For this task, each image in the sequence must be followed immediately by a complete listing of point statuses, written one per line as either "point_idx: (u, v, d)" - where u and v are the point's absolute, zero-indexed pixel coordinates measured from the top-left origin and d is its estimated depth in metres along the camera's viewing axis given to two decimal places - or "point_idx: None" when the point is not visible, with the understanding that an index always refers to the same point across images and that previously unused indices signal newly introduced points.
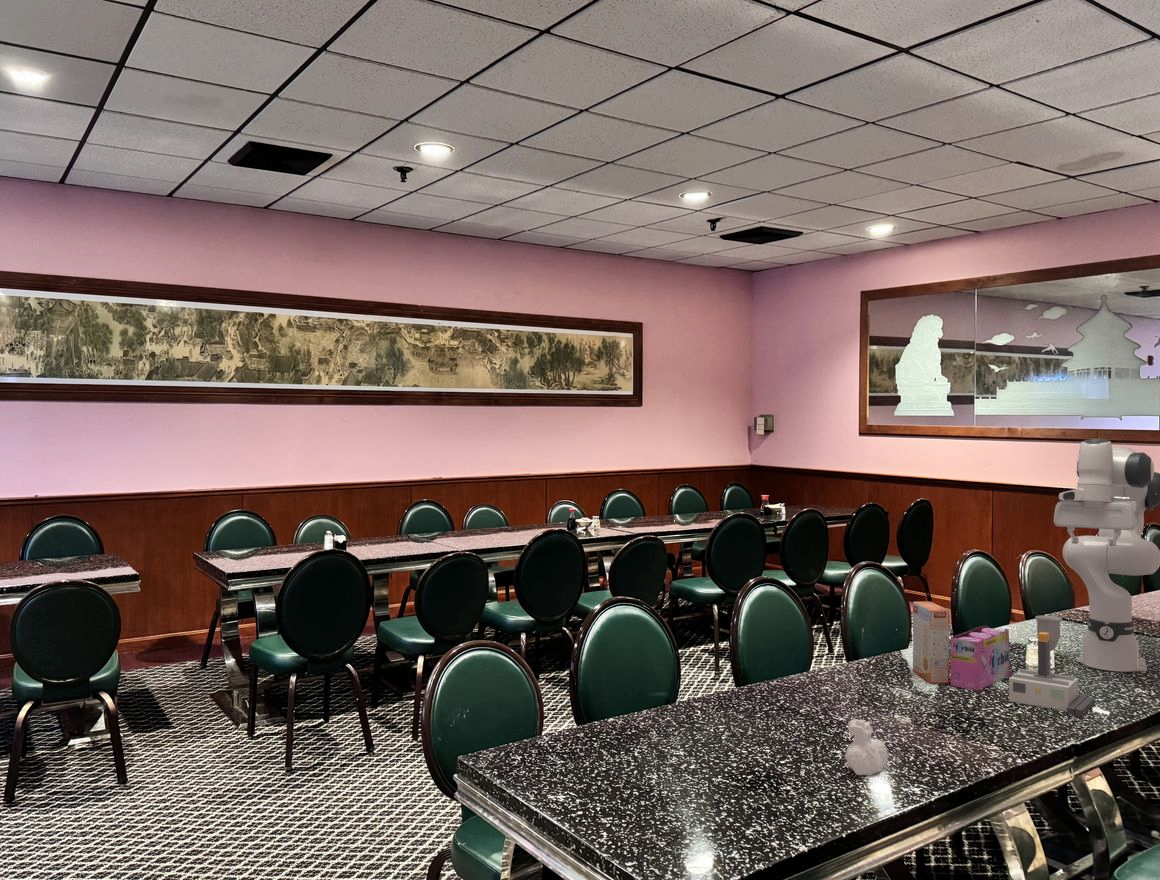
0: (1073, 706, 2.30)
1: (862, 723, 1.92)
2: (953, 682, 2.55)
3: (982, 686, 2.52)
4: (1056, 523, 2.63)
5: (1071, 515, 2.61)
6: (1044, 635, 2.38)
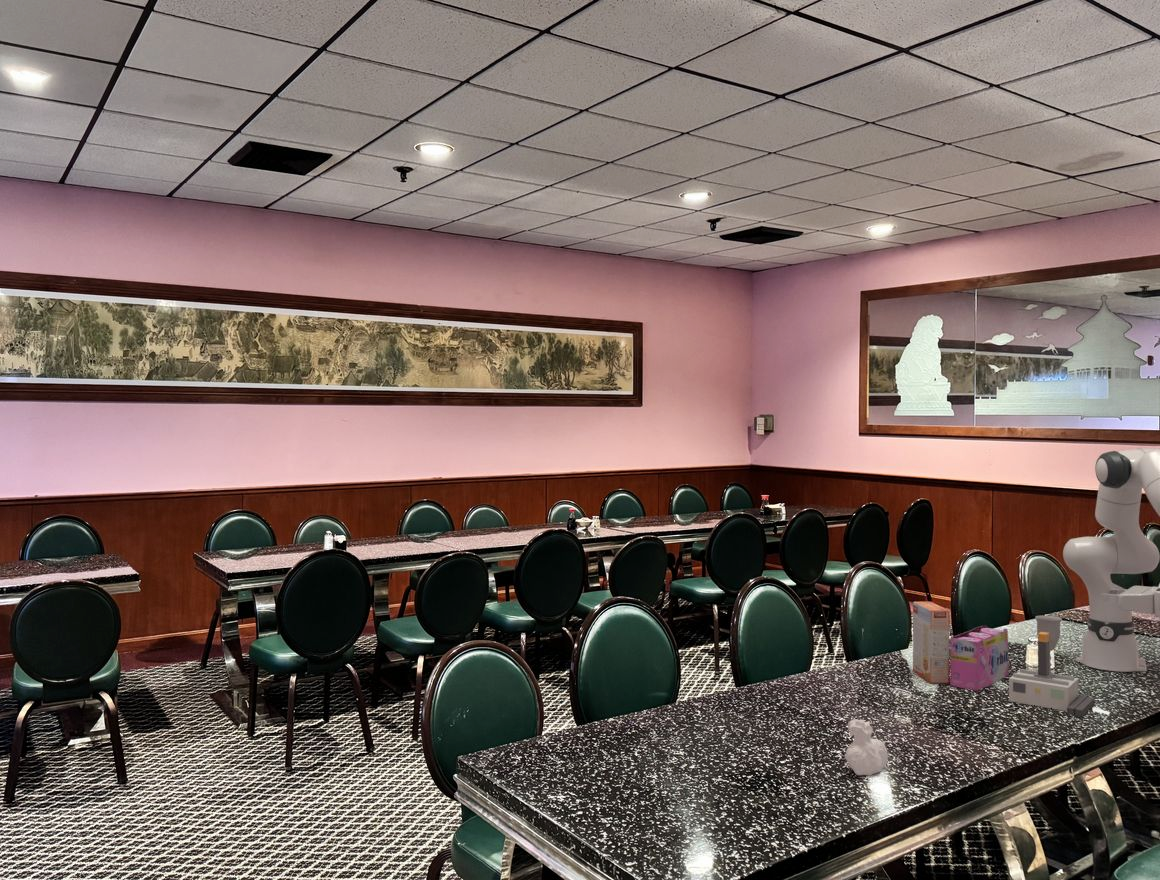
0: (1073, 706, 2.30)
1: (862, 723, 1.92)
2: (953, 682, 2.55)
3: (982, 686, 2.52)
4: (1121, 608, 2.26)
5: None
6: (1044, 635, 2.38)
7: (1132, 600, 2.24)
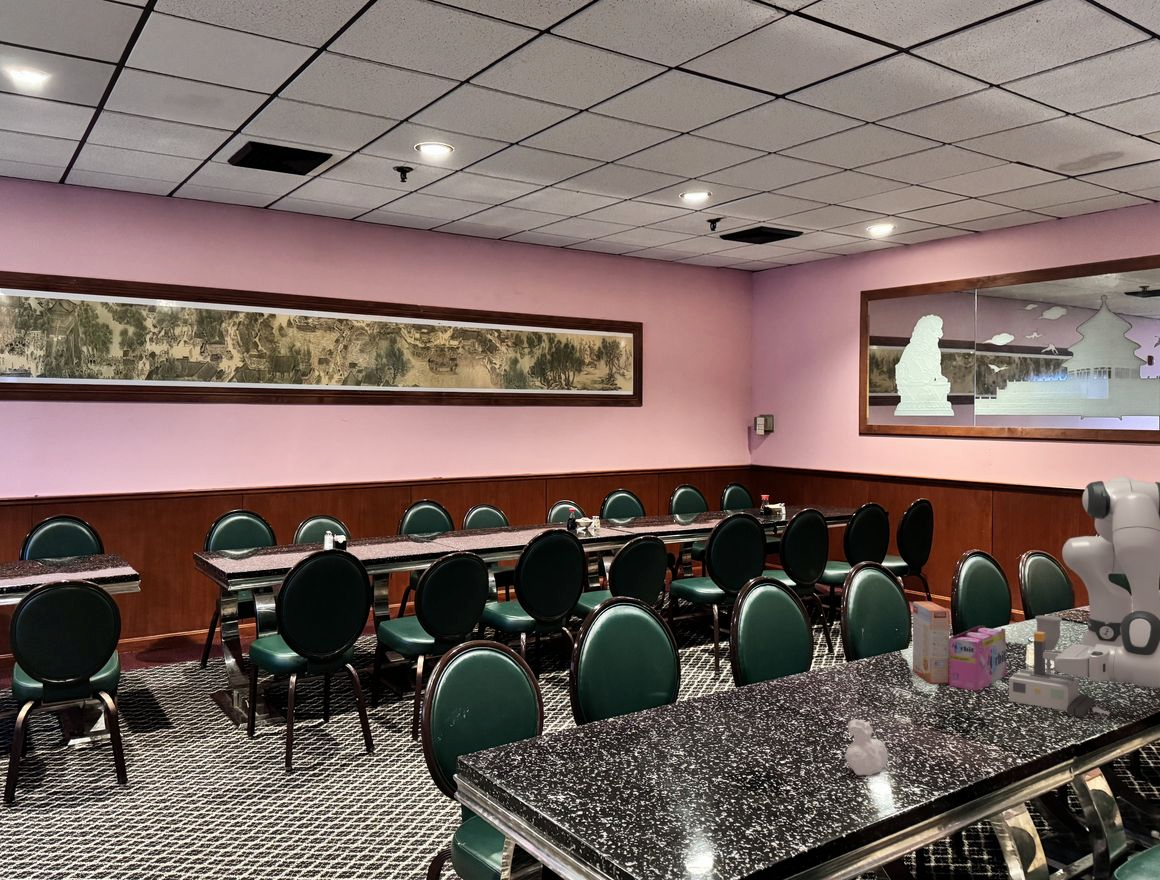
0: (1073, 706, 2.30)
1: (862, 723, 1.92)
2: (952, 682, 2.55)
3: (981, 686, 2.52)
4: (1058, 671, 2.29)
5: None
6: (1040, 634, 2.39)
7: (1068, 664, 2.27)
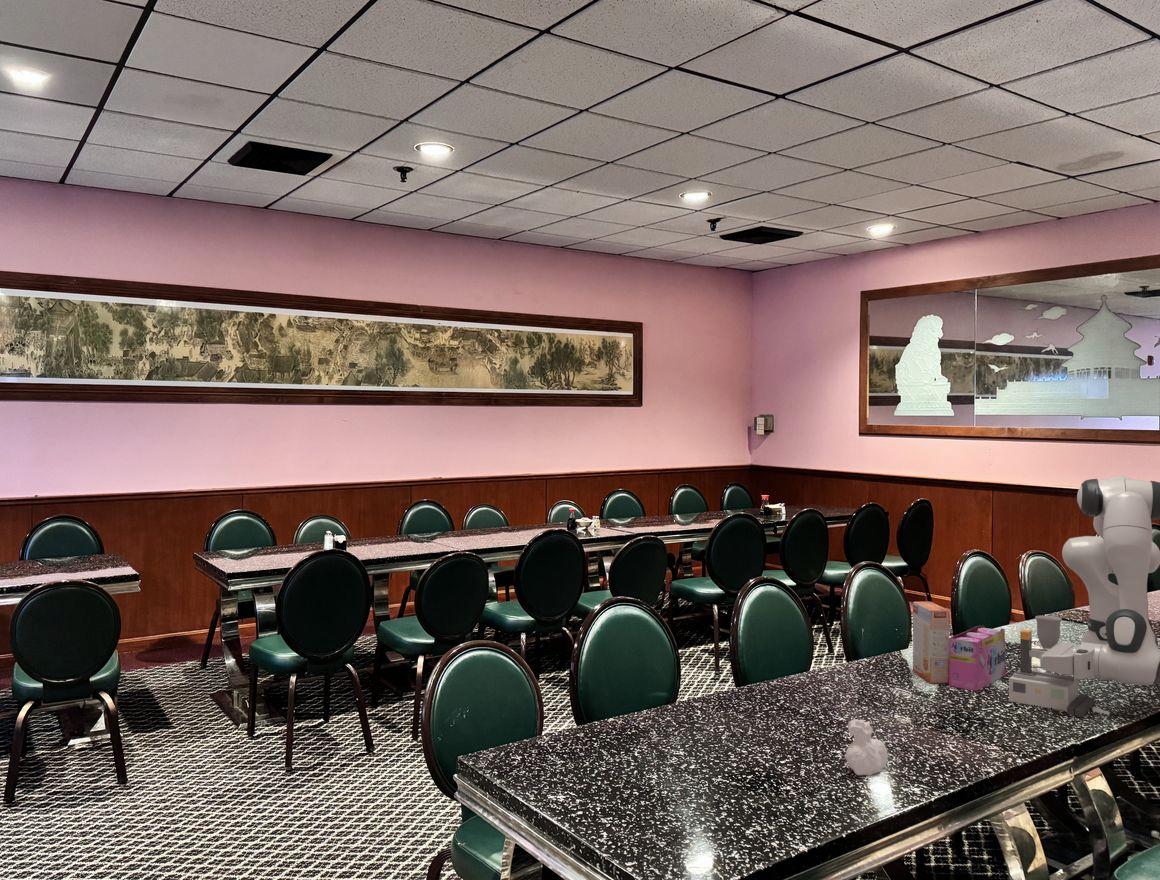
0: (1073, 706, 2.30)
1: (862, 723, 1.92)
2: (952, 682, 2.55)
3: (981, 686, 2.52)
4: None
5: None
6: (1026, 633, 2.41)
7: (1053, 662, 2.30)
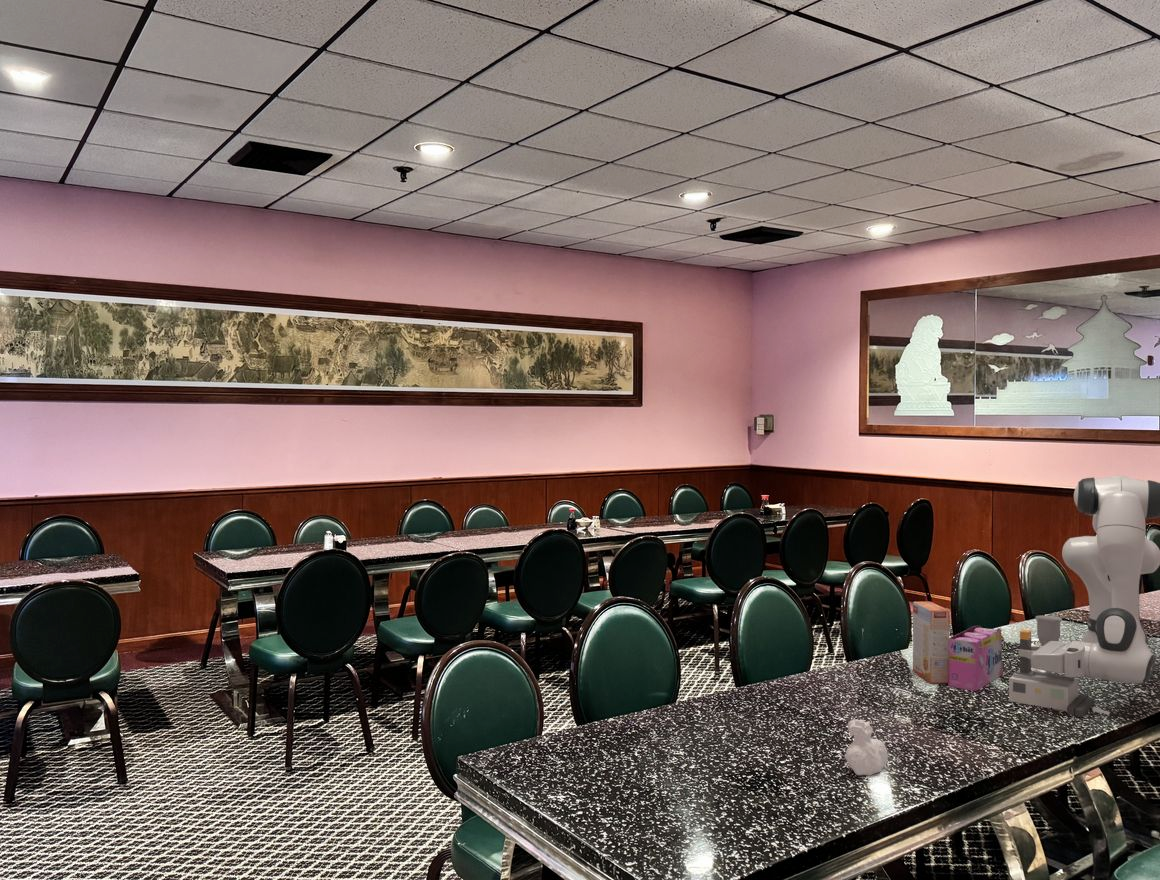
0: (1073, 706, 2.30)
1: (862, 723, 1.92)
2: (951, 683, 2.54)
3: (980, 686, 2.52)
4: (1034, 667, 2.33)
5: None
6: (1026, 633, 2.41)
7: (1043, 660, 2.31)
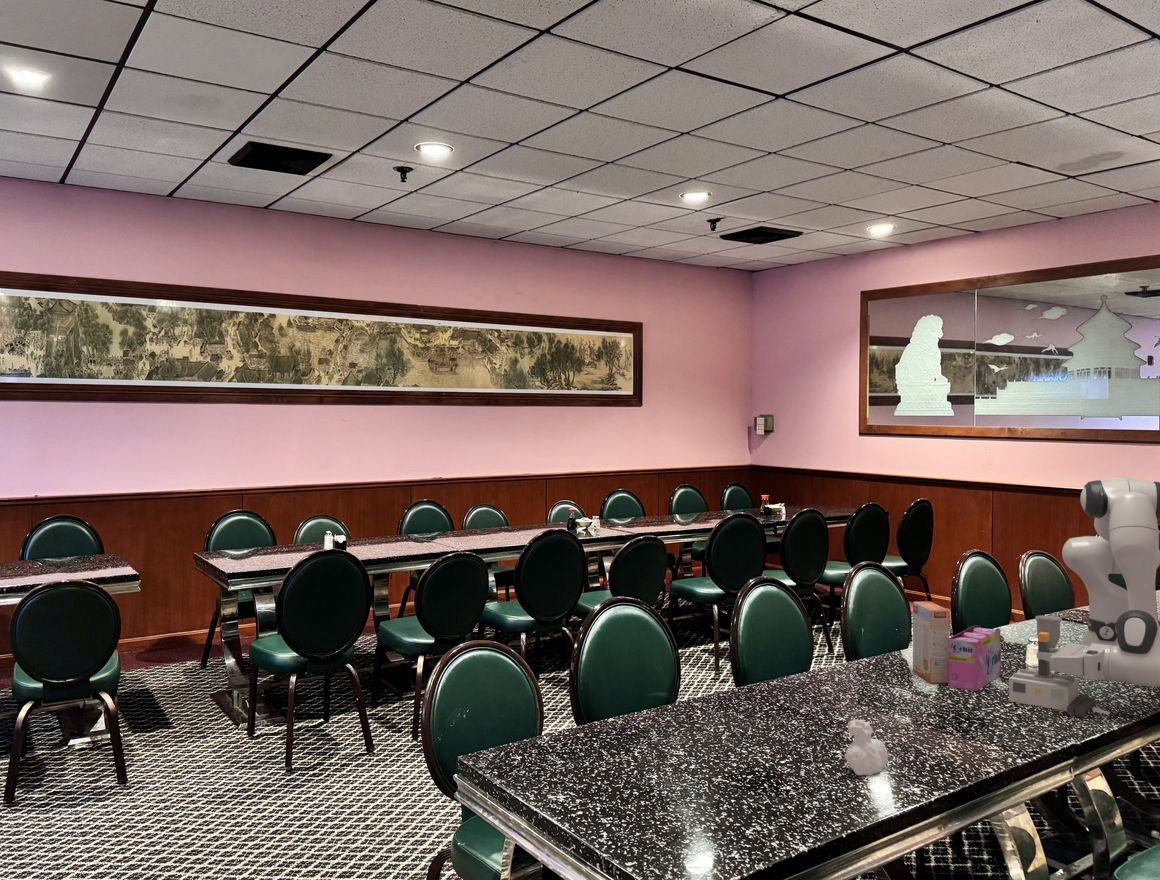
0: (1073, 706, 2.30)
1: (862, 723, 1.92)
2: (951, 683, 2.54)
3: (980, 686, 2.52)
4: (1053, 670, 2.30)
5: None
6: (1044, 635, 2.38)
7: (1063, 663, 2.28)
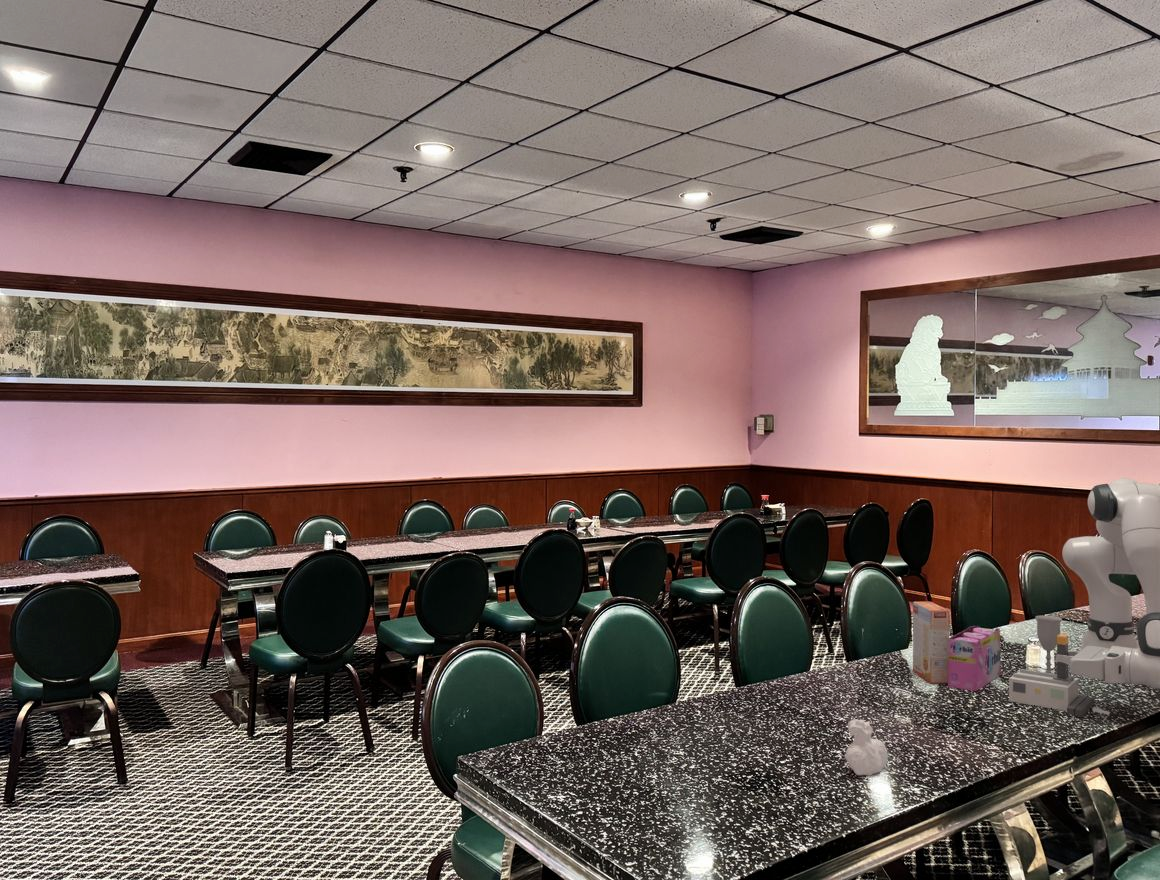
0: (1073, 706, 2.30)
1: (862, 723, 1.92)
2: (950, 683, 2.54)
3: (979, 686, 2.52)
4: (1073, 673, 2.27)
5: None
6: (1063, 637, 2.36)
7: (1083, 666, 2.25)
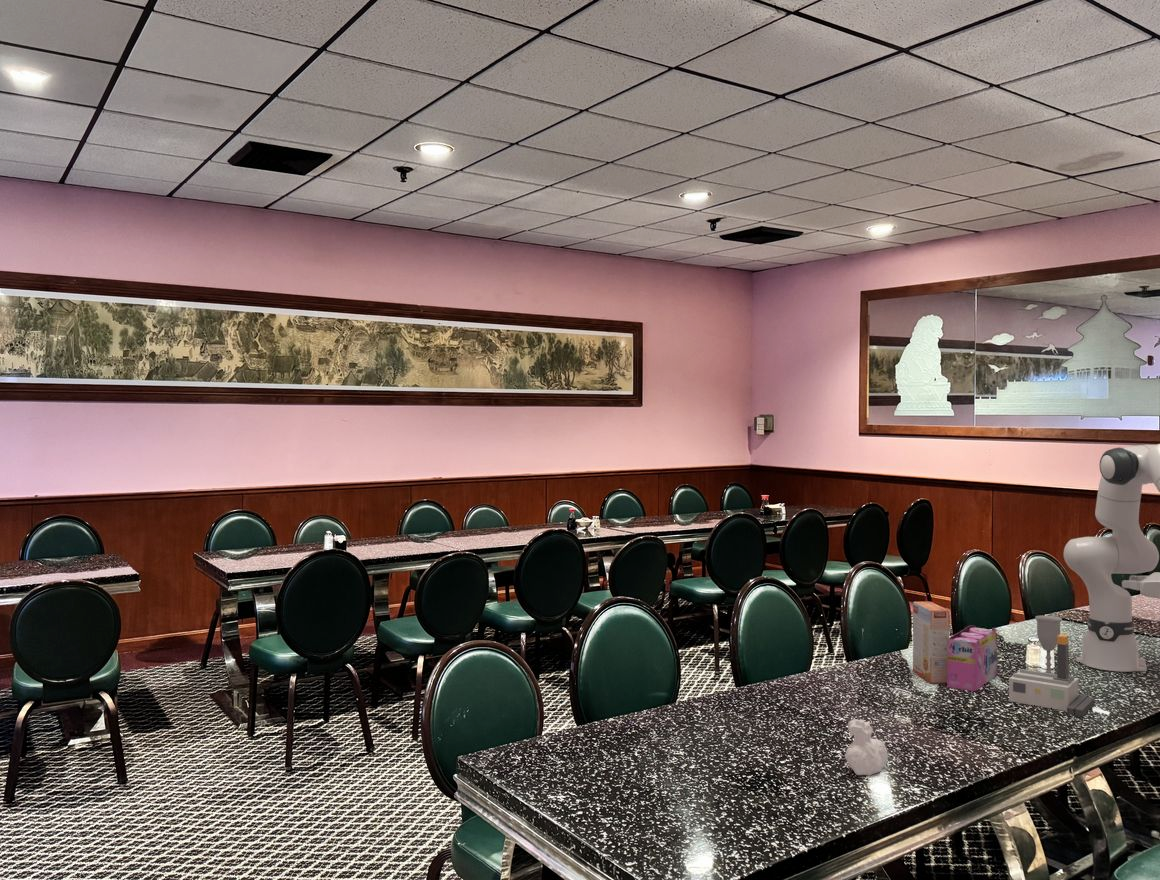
0: (1073, 706, 2.30)
1: (862, 723, 1.92)
2: (950, 683, 2.54)
3: (978, 686, 2.52)
4: None
5: None
6: (1064, 637, 2.36)
7: (1154, 587, 2.24)
